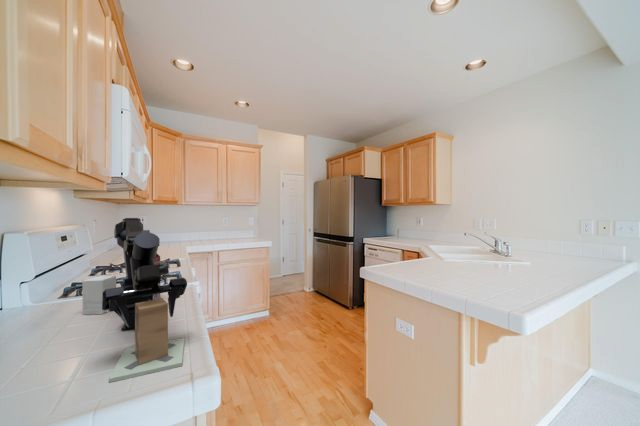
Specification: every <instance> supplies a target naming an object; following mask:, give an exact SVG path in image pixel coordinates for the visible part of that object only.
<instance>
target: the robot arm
mask: <svg viewBox="0 0 640 426" xmlns="http://www.w3.org/2000/svg"><path fill="white" fill-rule="evenodd" d="M113 232H114V233H113V234H114V239H116V244H117V245H118V246H119V247H120V248H122V249H123V251H122V252H123V258H124V268H125V275H126V276H125V280H124V281H123V284H122V286H119V287H117V286H116V288H111V289H105V290H104V291H103V292H102V310H109V311H108V312H114V313H115V314H117V316H119V317H120V319H121V320H122V322H123V323H124V324H123V326H122V327H121V328H120V330H121V331H123V332H124V331H127V330H133V329H134V330H135V303H139V302H145V301H150V300H153V295H154V294H159V293H160V294H163V293H167V296H168V297H167V303H168V314H169V316H170V318H173V316H174V313H175V312H174V311H175V306H176V300H177V299H179V298H180V297H181V296H182V295H185V291H186V289H187V286H188V281H187V279H186V278H185V277H178V278H177V277H175V278H171V279H169V282H168V284H163V285H160V286H159V284H158V283H160V284H161V282H162V281H161V278H162V276H164V275H167V274H168V273H169V265H168V261H160V263H159V265H155V262H154V258H155V257H156V254H158V249H159V247H160V240H161V239H160V237H159V236H158V235H157V234H156V233H153V232H150V230H149V229H144V223H142V222H141V218H138V217H125V218H122V221H120V222H118V223H116V224H115V225H114V231H113Z"/></svg>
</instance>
